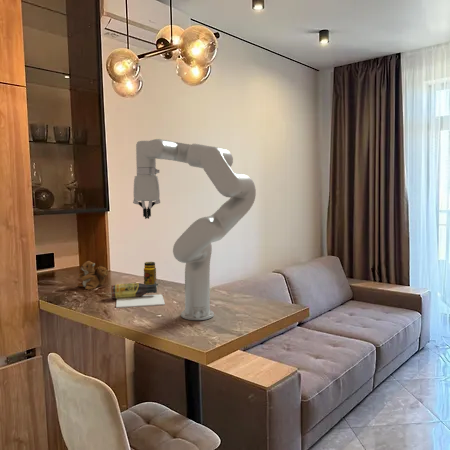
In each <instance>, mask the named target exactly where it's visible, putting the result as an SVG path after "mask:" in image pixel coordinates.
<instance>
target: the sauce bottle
mask: <svg viewBox="0 0 450 450" xmlns="http://www.w3.org/2000/svg"><path fill="white" fill-rule="evenodd" d="M110 287H111V288H110V291H111V298H112V299H113V300H114V299H116V300H117V298H129V297H138V296H143V295H147V294H157V293H158V291H157V288H158V286H156V284H153V285H145V284H144V283H142V282H141V283H140V282H131V283H116V284H112V285H111V286H110Z"/></svg>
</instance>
